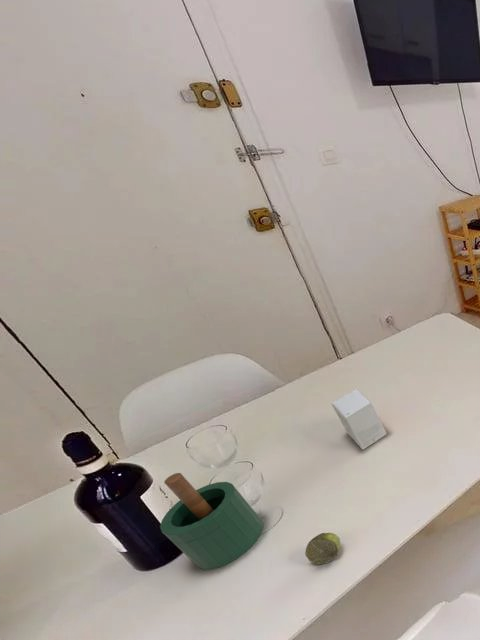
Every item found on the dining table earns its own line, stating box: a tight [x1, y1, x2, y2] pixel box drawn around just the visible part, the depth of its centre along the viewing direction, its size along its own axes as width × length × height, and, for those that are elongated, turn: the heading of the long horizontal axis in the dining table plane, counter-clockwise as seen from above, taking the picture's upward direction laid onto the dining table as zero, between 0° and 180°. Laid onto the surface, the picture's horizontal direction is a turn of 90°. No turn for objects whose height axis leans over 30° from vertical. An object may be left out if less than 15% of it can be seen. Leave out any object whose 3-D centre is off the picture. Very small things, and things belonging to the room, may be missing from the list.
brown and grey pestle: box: [164, 472, 214, 520], centre depth 71 cm, size 4×4×18 cm
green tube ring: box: [159, 481, 264, 571], centre depth 73 cm, size 9×9×11 cm
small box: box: [330, 389, 388, 451], centre depth 95 cm, size 8×6×10 cm
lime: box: [304, 532, 341, 565], centre depth 72 cm, size 4×5×5 cm
